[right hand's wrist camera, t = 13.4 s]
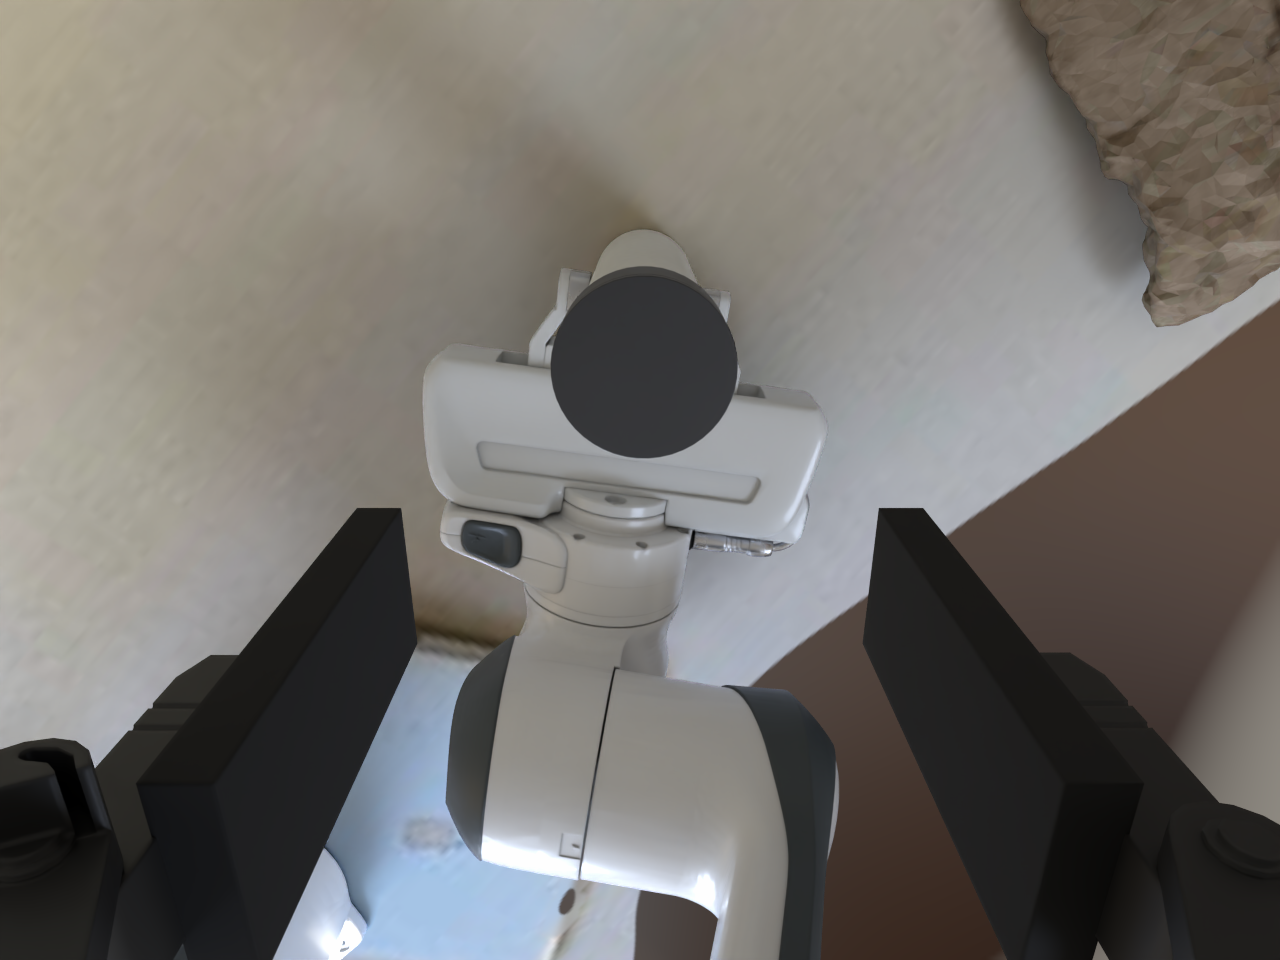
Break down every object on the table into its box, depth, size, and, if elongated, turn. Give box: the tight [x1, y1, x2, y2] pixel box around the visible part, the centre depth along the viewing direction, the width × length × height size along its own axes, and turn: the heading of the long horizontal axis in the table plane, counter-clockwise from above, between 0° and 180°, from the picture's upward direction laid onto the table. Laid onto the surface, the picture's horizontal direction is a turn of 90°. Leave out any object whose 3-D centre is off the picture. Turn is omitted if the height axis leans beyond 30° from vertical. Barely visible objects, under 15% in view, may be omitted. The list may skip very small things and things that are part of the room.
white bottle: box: [589, 229, 698, 285], centre depth 36 cm, size 5×5×20 cm
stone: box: [1020, 0, 1280, 327], centre depth 39 cm, size 21×15×6 cm
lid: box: [550, 266, 738, 459], centre depth 27 cm, size 6×6×2 cm
